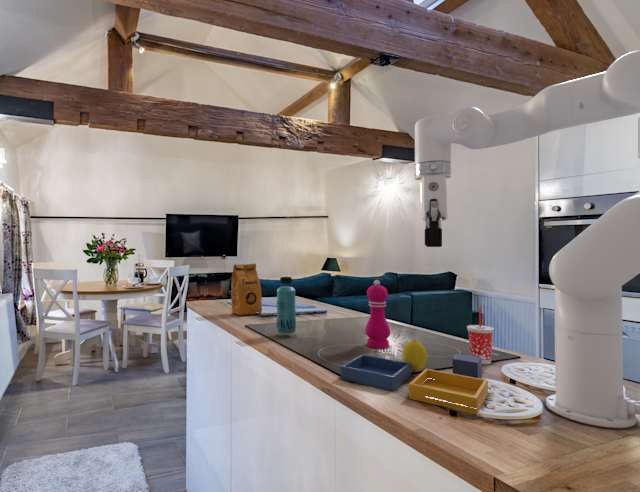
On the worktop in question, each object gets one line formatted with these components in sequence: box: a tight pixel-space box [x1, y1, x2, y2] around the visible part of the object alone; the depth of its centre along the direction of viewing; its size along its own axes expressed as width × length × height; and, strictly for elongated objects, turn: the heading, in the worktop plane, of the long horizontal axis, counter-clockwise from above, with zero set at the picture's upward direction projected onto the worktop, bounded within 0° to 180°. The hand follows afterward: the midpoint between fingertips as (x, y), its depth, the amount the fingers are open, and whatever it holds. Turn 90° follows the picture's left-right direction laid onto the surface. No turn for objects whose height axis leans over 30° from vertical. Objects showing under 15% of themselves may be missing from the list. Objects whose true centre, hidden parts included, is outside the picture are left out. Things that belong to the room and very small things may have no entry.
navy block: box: [452, 353, 483, 379], centre depth 93 cm, size 5×5×5 cm
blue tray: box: [340, 353, 412, 392], centre depth 95 cm, size 12×12×3 cm
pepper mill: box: [364, 279, 391, 350], centre depth 122 cm, size 7×7×20 cm
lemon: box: [401, 339, 428, 373], centre depth 98 cm, size 6×6×8 cm
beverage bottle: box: [276, 276, 297, 335], centre depth 136 cm, size 6×7×20 cm
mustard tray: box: [408, 368, 489, 415], centre depth 84 cm, size 12×12×3 cm
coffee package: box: [230, 263, 263, 316], centre depth 176 cm, size 10×12×22 cm
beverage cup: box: [466, 307, 495, 365], centre depth 106 cm, size 6×6×14 cm
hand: (432, 246), depth 93 cm, fingers open, 9 cm apart
